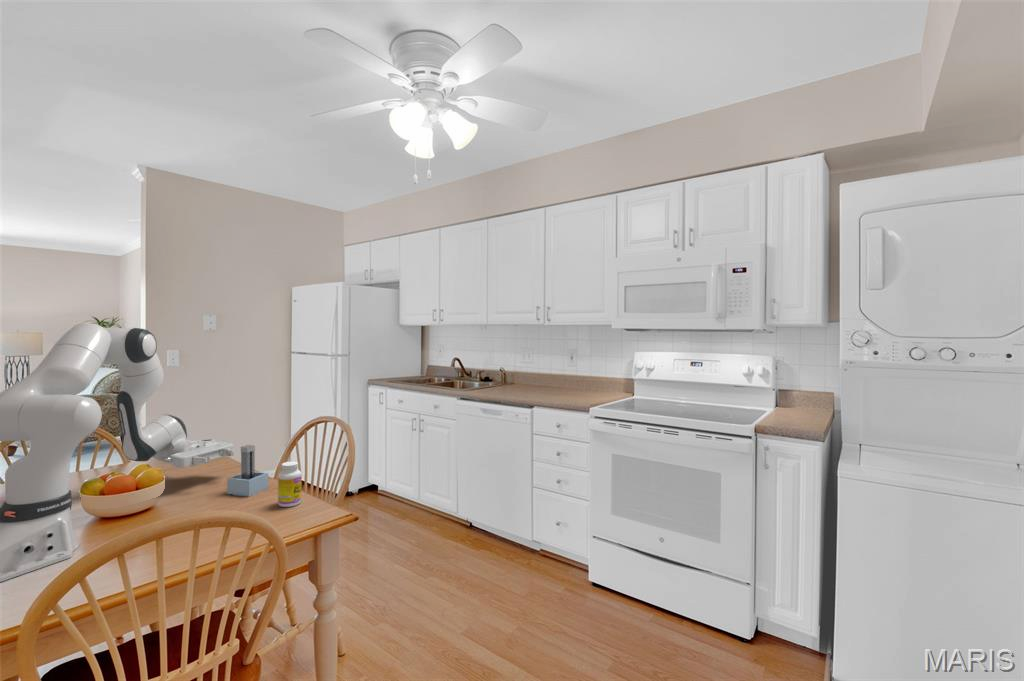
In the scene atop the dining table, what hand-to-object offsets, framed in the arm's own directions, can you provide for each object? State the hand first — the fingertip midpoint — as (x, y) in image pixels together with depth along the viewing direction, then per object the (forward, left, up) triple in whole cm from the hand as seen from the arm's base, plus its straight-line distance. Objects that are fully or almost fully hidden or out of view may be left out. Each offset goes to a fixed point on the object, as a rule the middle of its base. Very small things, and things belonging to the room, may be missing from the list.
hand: (220, 456), depth 166 cm
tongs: (-1, -12, -10) cm, 15 cm away
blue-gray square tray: (-1, -12, -11) cm, 16 cm away
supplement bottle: (-7, -33, -11) cm, 35 cm away
